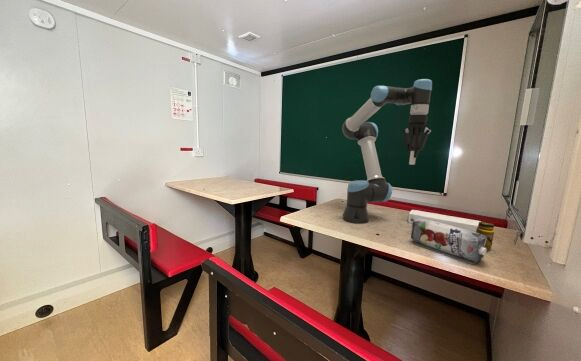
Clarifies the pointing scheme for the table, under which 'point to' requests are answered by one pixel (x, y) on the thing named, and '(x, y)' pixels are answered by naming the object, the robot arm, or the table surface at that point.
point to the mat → (446, 253)
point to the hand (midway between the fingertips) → (411, 164)
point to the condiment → (486, 230)
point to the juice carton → (449, 239)
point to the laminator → (444, 220)
